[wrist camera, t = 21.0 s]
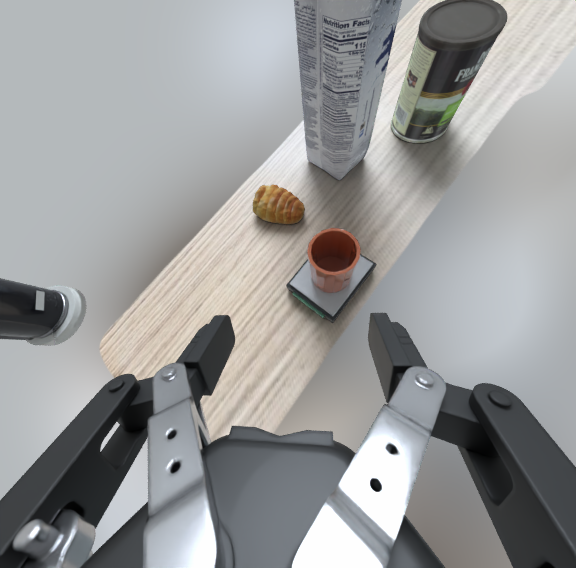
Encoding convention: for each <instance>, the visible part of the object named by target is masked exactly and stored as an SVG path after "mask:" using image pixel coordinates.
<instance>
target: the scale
mask: <svg viewBox="0 0 576 568" xmlns="http://www.w3.org/2000/svg"><path fill="white" fill-rule="evenodd" d="M375 266H376V263H374V262H373V261H371V260H369V259H368V258H366V257H364V256H363V255H361V254H360V258H359V261H358V263H357V266H356V269H355V271H354V274H353V276H352V279H351V281H350V283H349V284H348V286H347V287H346V288H345V289H343V290H342V291H339V292H336V293H327V292H323V291H321V290H320V289H318V288H317V287H316V286H315V285H314V283H313V281H312V278H311V273H310V267H309V260H308V259H307V261H306V262H305V263H304V264H303V266H302V267H301V268H300V269H299V270H298V272H297V273H296V274H295V275H294V277H293V278H292V279H291V280H290V281H289V283H288V284H287V285H286V286H287V288H288V290H290V291H291V292H292V294H293V296H294V297H296V298H297V299H298V300H300V301H301V302H302V303H304V304H305V305H306V306H308V307H309V308H310V309H311V310H313V311H314V312H315V313H317V314H318V315H319V316H321V317H322V318H324V317H325V318H327V319H328V320H329V321H331V322H332V323H333V322H334V321H335V319H336V318H337V317H338V315H339V314H340V313H341V311H342V310H343V309H344V308H345V306H346V305H347V304H348V302H349V301H350V300H351V298H352V297H353V296H354V294H355V293H356V292H357V290H358V289H359V288H360V286H361V285H362V284H363V282H364V281H365V280H366V279H367V277H368V276H369V275H370V273H371V272H372V271H373V269H374V268H375Z"/></svg>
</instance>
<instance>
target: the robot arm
mask: <svg viewBox="0 0 576 568" xmlns="http://www.w3.org/2000/svg"><path fill="white" fill-rule="evenodd" d="M68 309H69V302H68V298H67V296H66V295H65V294H64V293H62V292H60V291H55V290H48V289H44V288H39V287H36V286H32V285H27V284H23V283H18V282H14V281H9V280H5V279H1V278H0V339H16V340H32V339H34V338H44V337H47V336H49V335H51V334H53V333H54V332H55V331H56V330H57V329H58V328H59V327H60V326H61V325H62V324H63V322H64V320H65V318H66V316H67V313H68ZM368 341H369V347H370V350H371V353H372V357H373V360H374V363H375V366H376V370H377V373H378V376H379V379H380V383H381V386H382V389H383V392H384V396H385V399H386V402H387V403H388V404H387V405H386V404H384V405H383V407H382V408H381V410H380V412H379V414H378V415H377V417H376V419H375V421H374V422H373V424H372V426H371V428H370V430H369V431H368V433H367V435H366V437H365V438H364V440H363V442H362V444H361V445H360V447H359V449H358V451H357V453H354V452H353V451H352V450H351V449H349V448H348V447H346V446H345V445H343V444H341V443H339V442H336V441H334V440H333V432H329V431H311V430H306V431H301V432H296V433H292V434H288V435H283V436H278V435H275V434H272V433H270V432H267V431H264V430H262V429H259V428H256V427H242V426H232V428H231V431H230V434H229V435H226V436H224V437H221V438H219V439H217V440H215V441H213V442H211V439H210V436H209V432H208V428H207V424H206V420H205V416H204V412H203V408H202V404H201V402H200V400H201V398H202V396H203V395H209V396H211V395H212V393H213V391H214V389H215V386H216V384H217V382H218V380H219V378H220V375H221V373H222V371H223V369H224V367H225V365H226V362H227V360H228V358H229V356H230V354H231V351H232V349H233V347H234V344H235V335H234V331H233V327H232V324H231V320H230V317H229V316H228V315H216V316H214V317H213V319H212V320H211V322H210V323H209V324H206V325H205V326H203V327H202V328H201V329H199V331H198V332H197V333H196V335H195V336H194V338H193V339H192V340H191V342H190V343H189V344H188V346H187V347H186V349H185V350H184V351H183V353H182V354H181V356H180V357H179V358H178V360H177V361H176V363H172V364H169V365H167V366H165V367H163V368H162V369H160V370H159V371H158V372H157V373H156V374H155V376H154V377H151V378H147V379H143V380H139V381H137V379H136V378H135V376H134V375H132V374H124V375H121V376H118V377H116V378H114V379H112V380H111V381H110V382H108V383H107V384H106V385H105V386H104V387H103V388H102V389H101V390H100V391H99V392H98V393H97V394H96V395H95V397H94V398H93V399H92V400H91V401H90V402H89V403H88V404H87V405H86V407H85V408H84V409H83V410H82V411H81V412H80V413H79V414H78V415H77V417H76V418H75V419H74V420H73V421H72V422H71V423H70V424H69V425H68V426H67V427H66V429H65V430H64V431H63V432H62V433H61V434H60V435H59V436H58V437H57V438H56V440H55V441H54V442H53V443H52V444H51V445H50V446H49V447H48V448H47V450H46V451H45V452H44V453H43V454H42V455H41V456H40V457H39V458H38V459H37V460H36V462H35V463H34V464H33V465H32V466H31V467H30V468H29V469H28V471H27V472H26V473H25V474H24V475H23V476H22V477H21V478H20V479H19V480H18V481H17V483H16V484H15V485H14V486H13V487H12V488H11V489H10V490H9V492H8V493H7V494H6V495H5V496H4V497H3V498H2V499H1V500H0V568H445V567H444V565H443V564H442V563H441V561H440V560H439V559H438V557H437V556H436V555H435V554H434V552H433V551H432V550H431V548H430V547H429V546H428V545H427V543H426V542H425V541H424V539H423V538H422V537H421V535H420V534H419V533H418V531H417V530H416V529H415V528H414V526H413V525H412V524H411V522H410V521H409V520H408V519H407V517H406V516H405V515H404V513H405V510H406V507H407V504H408V501H409V498H410V495H411V492H412V489H413V486H414V484H415V481H416V478H417V475H418V472H419V469H420V466H421V463H422V460H423V457H424V454H425V451H426V448H427V445H428V442H429V439H430V436H433V437H436V438H439V439H441V440H444V441H447V442H449V443H452V444H455V445H457V446H458V448H459V450H460V452H461V454H462V457H463V459H464V461H465V463H466V465H467V468H468V470H469V472H470V474H471V477H472V479H473V481H474V483H475V485H476V487H477V490H478V491H479V494H480V496H481V498H482V501H483V503H484V505H485V507H486V509H487V511H488V514H489V516H490V518H491V520H492V522H493V525H494V527H495V529H496V531H497V533H498V536H499V538H500V540H501V542H502V544H503V546H504V549H505V551H506V552H507V555H508V557H509V559H510V562H511V564H512V566H513V568H576V467H575V466H574V465H573V463H572V462H571V461H570V460H569V459H568V457H567V456H566V455H565V454H564V452H563V451H562V450H561V449H560V448H559V447H558V445H557V444H556V443H555V441H554V440H553V439H552V438H551V437H550V435H549V434H548V433H547V432H546V430H545V429H544V428H543V427H542V426H541V424H540V423H539V422H538V421H537V419H536V418H535V417H534V416H533V415H532V413H531V412H530V411H529V410H528V408H527V407H526V406H525V405H524V404H523V402H522V401H521V400H520V399H519V398H517V397H516V396H515V395H514V394H513V393H511V392H509V391H508V390H506V389H504V388H502V387H499V386H496V385H493V384H488V383H487V384H486V383H482V384H478V385H476V386H475V387H474V389H473V390H469V389H465V388H462V387H457V386H454V385H451V384H448V383H445V382H444V380H443V379H442V378H441V377H440V376H439V375H438V374H437V373H435V372H434V371H432V370H430V369H428V368H427V366H426V364H425V362H424V360H423V359H422V357H421V355H420V353H419V352H418V350H417V348H416V346H415V345H414V344H413V341H412V339H411V338H410V336H409V334H408V332H407V331H406V329H405V328H404V327H403V326H401V325H400V324H399V323H398V322H391V321H390V320H389V317H388V315H387V314H386V313H371V314H370V323H369V333H368ZM116 422H118V423H119V424H120V426H119V427H118V428H117V430H116V431H115V433H114V434H113V435H112V437H111V438H110V440H109V441H108V443H107V444H106V446H105V447H104V448H103V450H102V451H101V452H100V448H101V444H102V442H103V440H104V438H105V437H106V436H107V434H108V433H109V431H110V430H111V429H112V427H113V426H114V424H115V423H116ZM147 437H148V502H147V503H146V504H145V505H144V506H143V507H142V508H141V509H140V510H139V511H138V512H137V513H135V515H134V516H132V517H131V519H129V520H128V521H127V522H126V523H125V524H124V525H123V526H122V527H121V528H120V529H119V530H118V531H117V532H116V533H115V534H114V535H113V536H112V537H111V538H109V540H107V541H106V543H104V544H103V545H102V546H101V547H100V548H99V549H98V550H97V551H96V552H95V553H94V554H92V550H91V549H92V546H93V544H94V540H95V529H96V527H97V525H98V523H99V521H100V520H101V518H102V516H103V515H104V512H105V511H106V509H107V508H108V506H109V504H110V502H111V500H112V499H113V497H114V495H115V493H116V492H117V490H118V488H119V487H120V485H121V483H122V481H123V479H124V478H125V476H126V474H127V472H128V471H129V469H130V467H131V465H132V464H133V462H134V460H135V458H136V457H137V455H138V453H139V451H140V449H141V448H142V446H143V444H144V443H145V441H146V439H147Z"/></svg>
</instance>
